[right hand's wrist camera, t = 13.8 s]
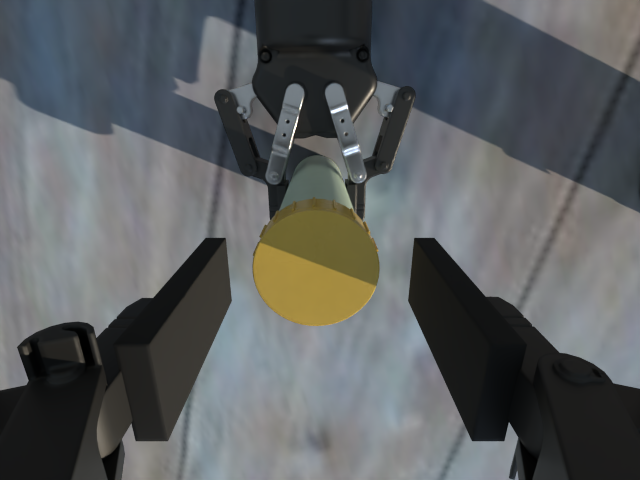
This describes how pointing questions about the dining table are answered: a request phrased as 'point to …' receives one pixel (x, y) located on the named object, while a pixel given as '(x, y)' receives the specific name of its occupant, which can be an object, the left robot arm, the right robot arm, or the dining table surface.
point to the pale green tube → (317, 182)
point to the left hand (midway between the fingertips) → (317, 227)
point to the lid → (316, 262)
